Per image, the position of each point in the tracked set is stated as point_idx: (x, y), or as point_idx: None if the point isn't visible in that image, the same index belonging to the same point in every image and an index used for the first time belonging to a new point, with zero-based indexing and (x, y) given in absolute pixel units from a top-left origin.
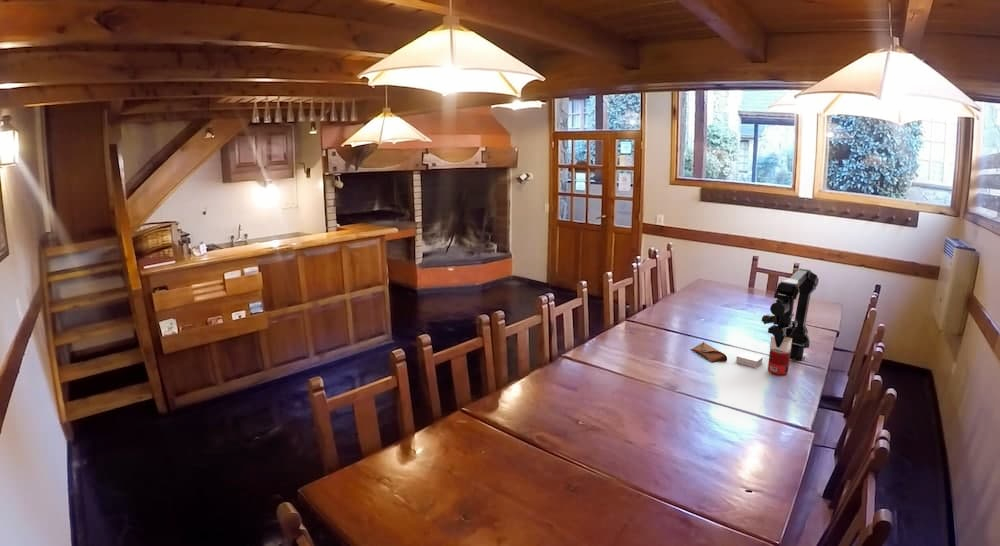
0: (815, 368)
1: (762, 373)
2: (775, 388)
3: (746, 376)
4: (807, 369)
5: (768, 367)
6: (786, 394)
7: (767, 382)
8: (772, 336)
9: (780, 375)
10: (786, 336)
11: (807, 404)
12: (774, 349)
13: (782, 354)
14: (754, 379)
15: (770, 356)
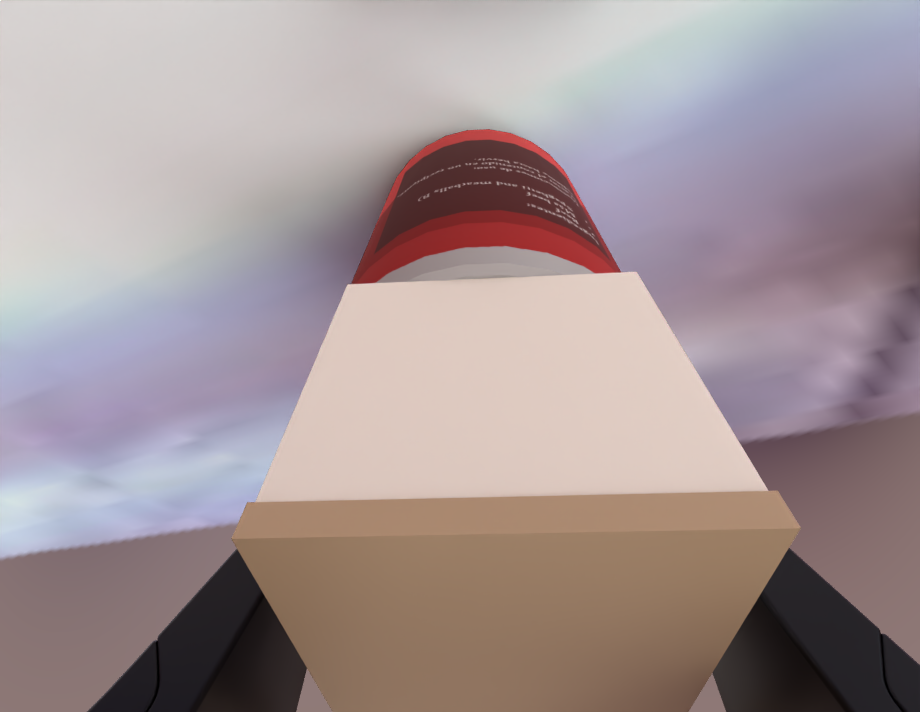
0: (815, 409)
1: (314, 125)
2: (122, 356)
3: (32, 16)
4: (752, 379)
5: (409, 166)
6: (120, 433)
7: (155, 266)
8: (379, 546)
9: None
10: (747, 703)
11: (134, 529)
12: None
13: None
14: (73, 140)
15: (369, 246)
